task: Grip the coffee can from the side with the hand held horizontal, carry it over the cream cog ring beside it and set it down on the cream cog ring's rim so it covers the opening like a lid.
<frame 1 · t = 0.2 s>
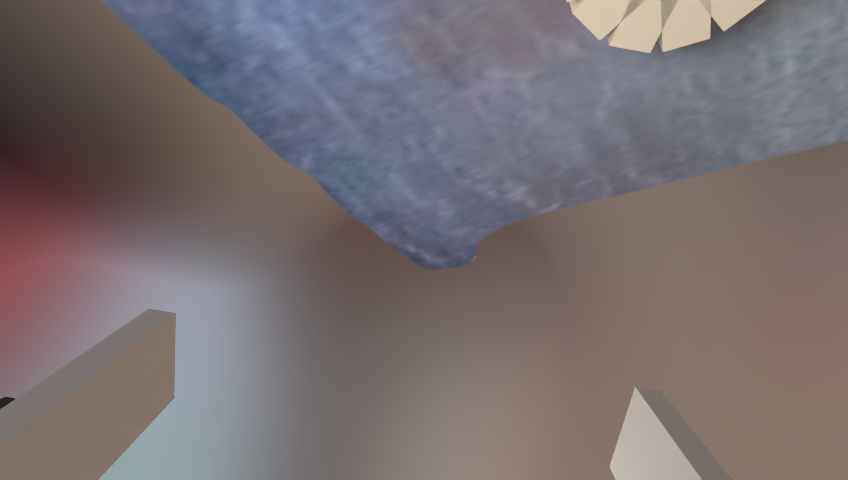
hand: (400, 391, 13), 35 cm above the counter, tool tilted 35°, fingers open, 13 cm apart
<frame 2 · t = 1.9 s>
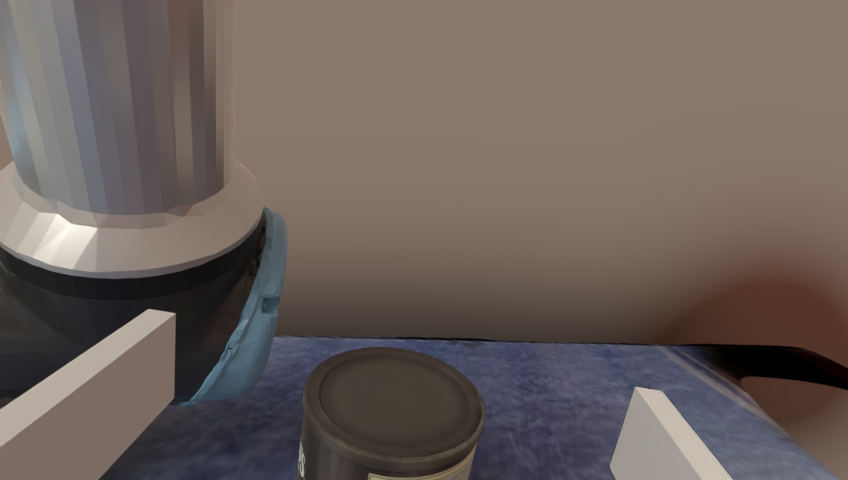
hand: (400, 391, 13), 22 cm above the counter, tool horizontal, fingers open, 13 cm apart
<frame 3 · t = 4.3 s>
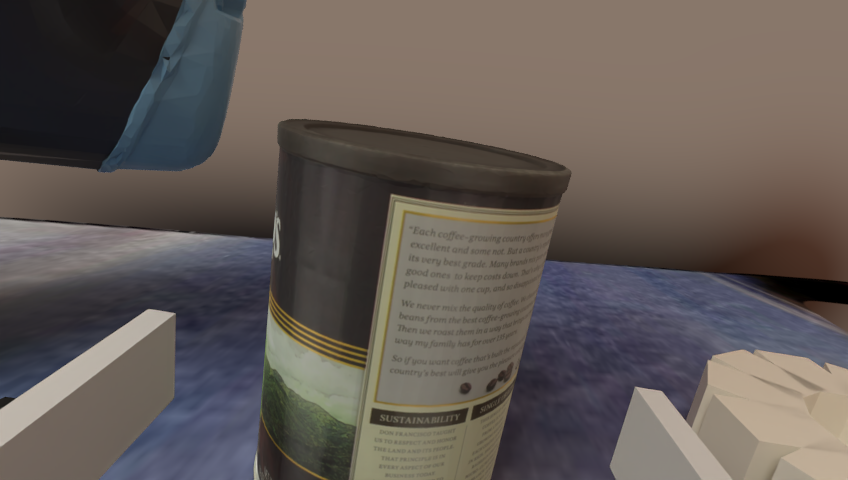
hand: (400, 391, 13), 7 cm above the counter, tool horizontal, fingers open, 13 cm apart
coffee can: (375, 466, 21), on the counter
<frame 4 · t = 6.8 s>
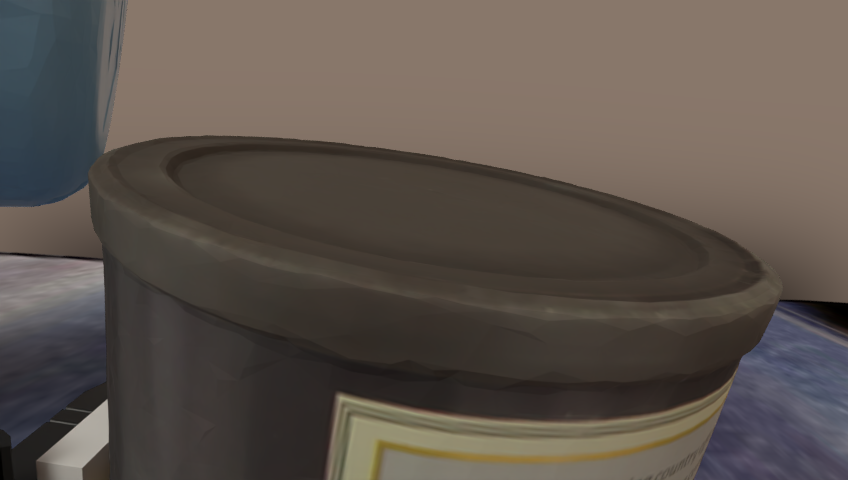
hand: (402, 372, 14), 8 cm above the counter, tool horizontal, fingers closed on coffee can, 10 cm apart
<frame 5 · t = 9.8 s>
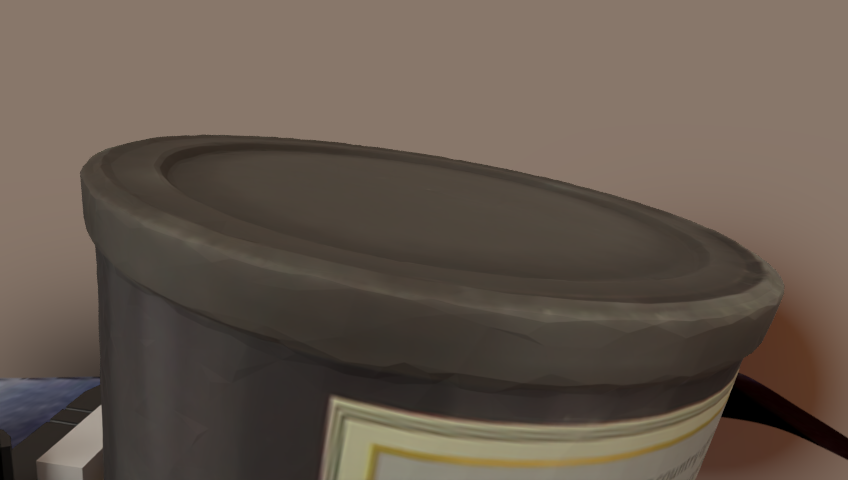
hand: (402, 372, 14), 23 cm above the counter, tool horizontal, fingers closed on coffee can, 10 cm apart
when the fingers open (14 cm above the counter, at t = 13.0 s): coffee can drops 1 cm, resting on cream cog ring.
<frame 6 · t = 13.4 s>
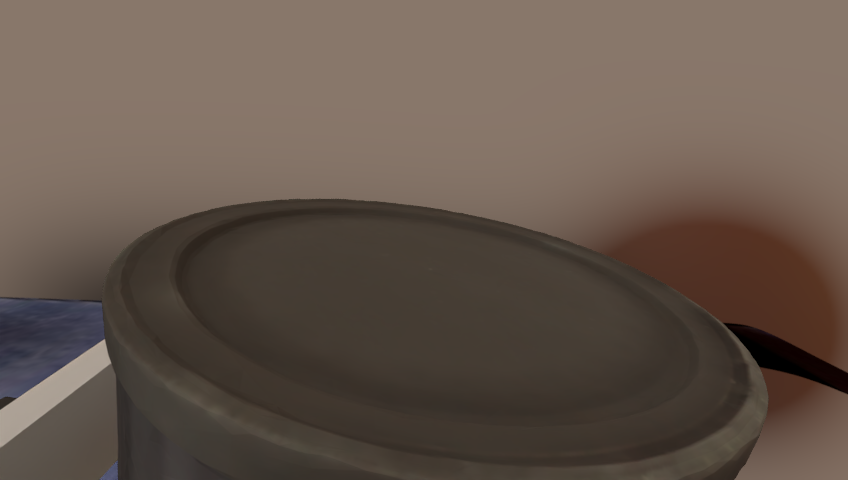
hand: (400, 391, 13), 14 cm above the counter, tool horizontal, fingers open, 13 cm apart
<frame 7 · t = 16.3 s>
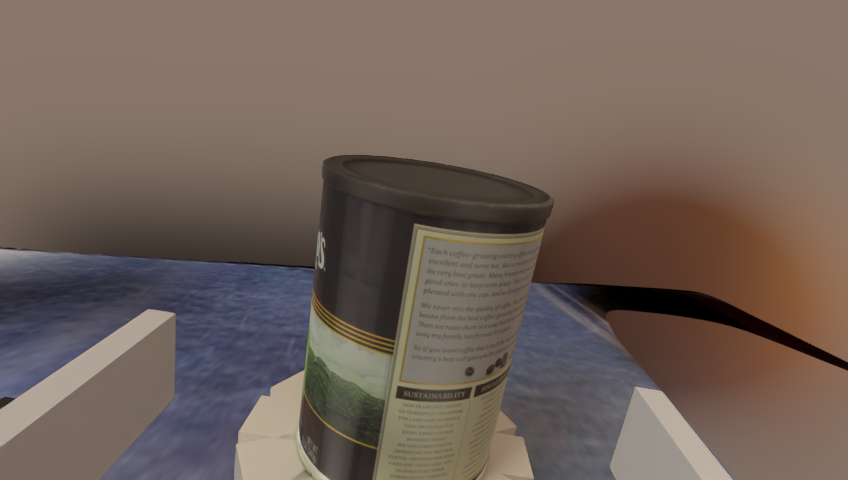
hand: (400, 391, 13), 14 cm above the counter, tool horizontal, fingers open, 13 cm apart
coffee can: (394, 440, 25), point 5 cm above the counter, touching cream cog ring
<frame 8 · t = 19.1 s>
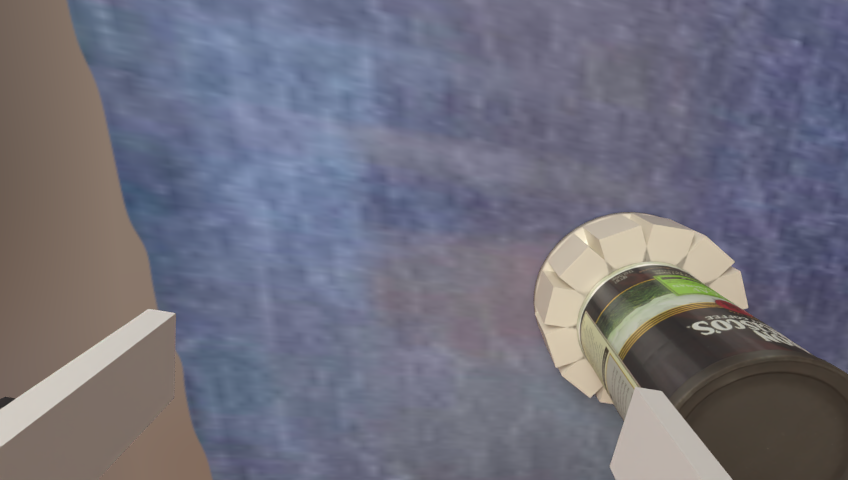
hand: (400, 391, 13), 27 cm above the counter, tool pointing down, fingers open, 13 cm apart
coffee can: (641, 323, 36), point 5 cm above the counter, touching cream cog ring
cream cog ring: (620, 296, 41), on the counter
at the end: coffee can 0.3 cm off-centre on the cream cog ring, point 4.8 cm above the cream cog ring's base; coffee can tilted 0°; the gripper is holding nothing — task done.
